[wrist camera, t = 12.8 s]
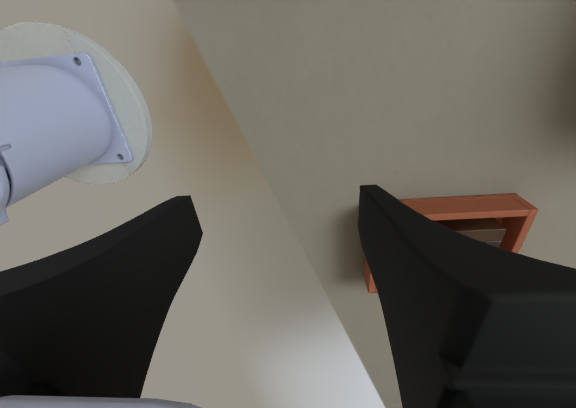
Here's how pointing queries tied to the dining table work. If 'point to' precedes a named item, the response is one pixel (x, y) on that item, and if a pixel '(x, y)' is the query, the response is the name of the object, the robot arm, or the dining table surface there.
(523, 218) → the holder
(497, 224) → the frame
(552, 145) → the dining table surface
